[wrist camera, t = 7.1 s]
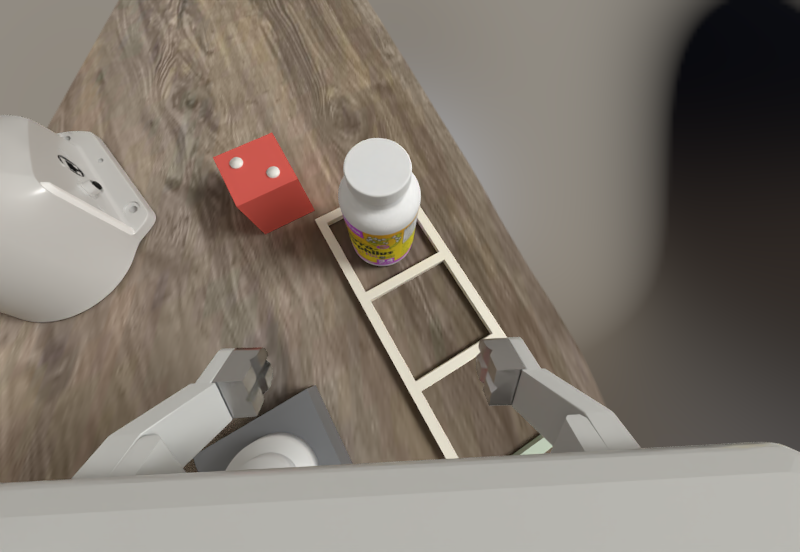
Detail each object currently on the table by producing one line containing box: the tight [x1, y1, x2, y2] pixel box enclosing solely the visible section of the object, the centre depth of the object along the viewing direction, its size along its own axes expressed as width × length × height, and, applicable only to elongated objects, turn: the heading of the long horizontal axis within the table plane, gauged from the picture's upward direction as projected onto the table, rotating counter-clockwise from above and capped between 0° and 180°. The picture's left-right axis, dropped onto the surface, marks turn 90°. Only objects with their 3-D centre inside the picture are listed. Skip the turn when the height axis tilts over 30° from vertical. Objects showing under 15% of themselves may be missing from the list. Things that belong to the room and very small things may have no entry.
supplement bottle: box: [338, 138, 421, 266], centre depth 25 cm, size 7×7×13 cm
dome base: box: [193, 385, 353, 472], centre depth 24 cm, size 10×10×3 cm
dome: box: [225, 432, 319, 471], centre depth 21 cm, size 7×7×3 cm
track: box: [315, 207, 553, 459], centre depth 29 cm, size 31×11×1 cm, turn 30°
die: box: [213, 133, 315, 234], centre depth 29 cm, size 6×6×6 cm
